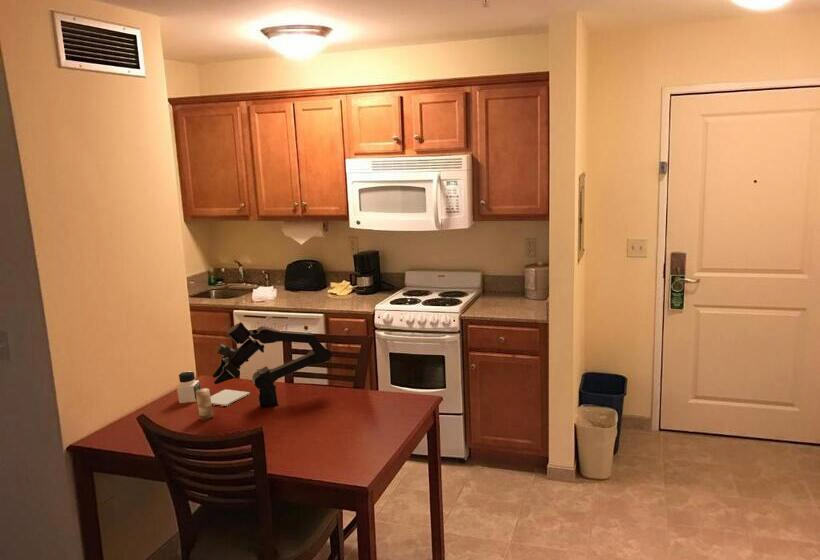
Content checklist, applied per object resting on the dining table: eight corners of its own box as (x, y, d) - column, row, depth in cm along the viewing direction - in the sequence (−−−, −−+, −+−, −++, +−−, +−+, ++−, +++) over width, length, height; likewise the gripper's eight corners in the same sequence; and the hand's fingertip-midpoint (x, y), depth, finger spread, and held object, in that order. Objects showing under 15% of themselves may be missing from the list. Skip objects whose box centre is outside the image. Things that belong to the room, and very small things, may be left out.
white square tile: (250, 394, 278) (249, 392, 278) (226, 406, 266) (225, 404, 266) (225, 391, 285) (225, 389, 284) (201, 403, 273) (200, 401, 273)
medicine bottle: (196, 402, 275) (191, 374, 273) (179, 403, 275) (174, 376, 273) (201, 396, 282) (197, 369, 280) (185, 397, 282) (180, 370, 280)
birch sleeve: (213, 414, 259) (209, 387, 257) (214, 418, 254) (209, 391, 252) (199, 416, 258) (195, 390, 256) (199, 421, 253) (195, 394, 251)
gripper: (228, 332, 264) (198, 359, 261) (232, 342, 246) (200, 372, 244) (247, 352, 267) (218, 379, 265) (253, 363, 250) (221, 392, 247)
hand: (213, 380), depth 255 cm, fingers open, 9 cm apart
